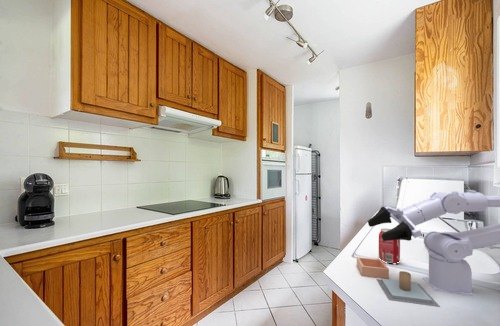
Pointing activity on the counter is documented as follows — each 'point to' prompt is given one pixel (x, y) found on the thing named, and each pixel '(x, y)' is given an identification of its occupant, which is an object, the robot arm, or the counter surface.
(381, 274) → the tray
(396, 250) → the soda can
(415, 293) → the lid
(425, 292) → the mat
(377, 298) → the counter surface
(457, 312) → the counter surface
